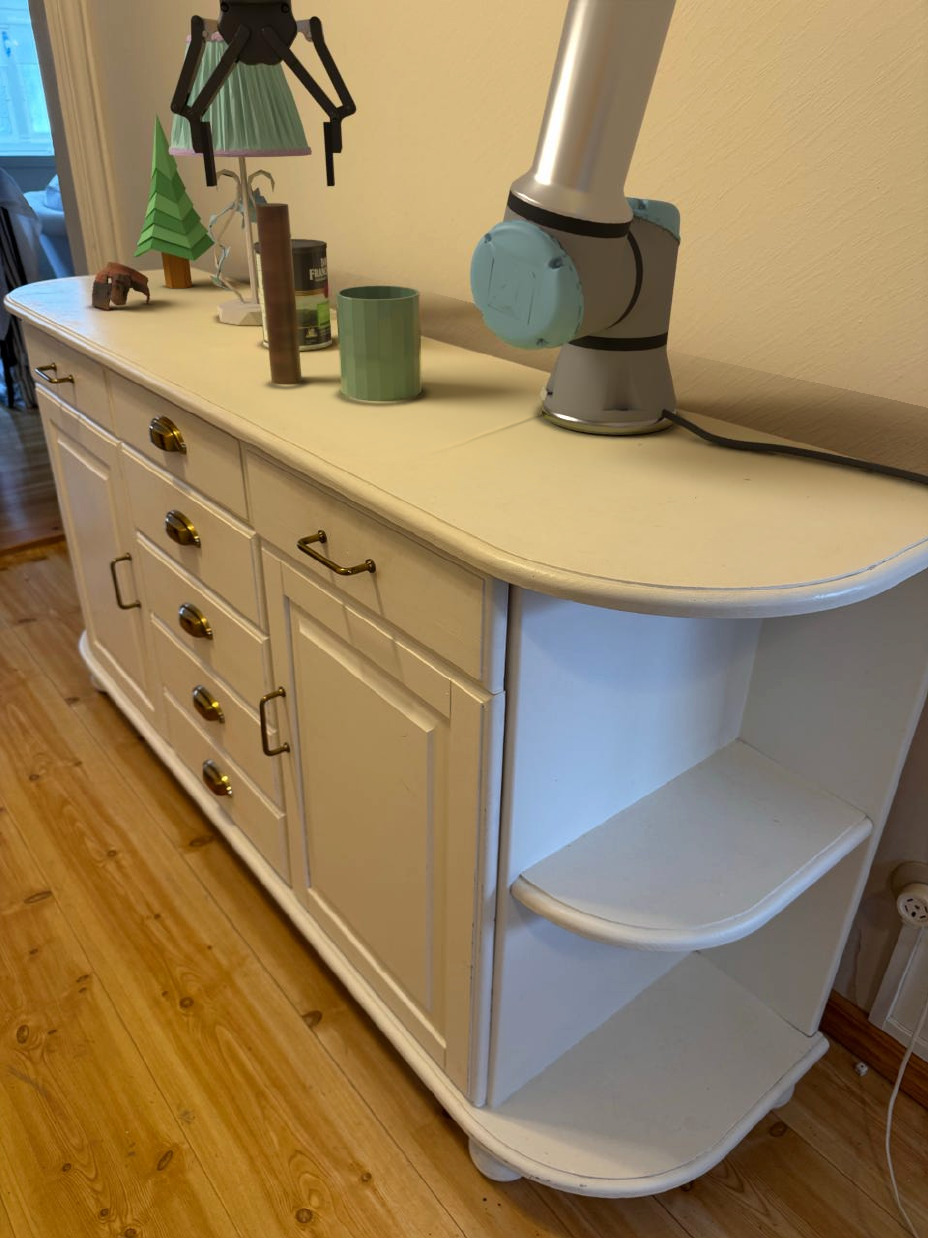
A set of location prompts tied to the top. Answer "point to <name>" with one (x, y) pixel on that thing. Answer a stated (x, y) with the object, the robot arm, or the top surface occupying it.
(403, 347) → the tin
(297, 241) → the coffee can
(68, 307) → the top surface
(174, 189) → the decorative tree
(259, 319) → the table lamp
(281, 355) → the stick
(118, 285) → the brown arched piece
